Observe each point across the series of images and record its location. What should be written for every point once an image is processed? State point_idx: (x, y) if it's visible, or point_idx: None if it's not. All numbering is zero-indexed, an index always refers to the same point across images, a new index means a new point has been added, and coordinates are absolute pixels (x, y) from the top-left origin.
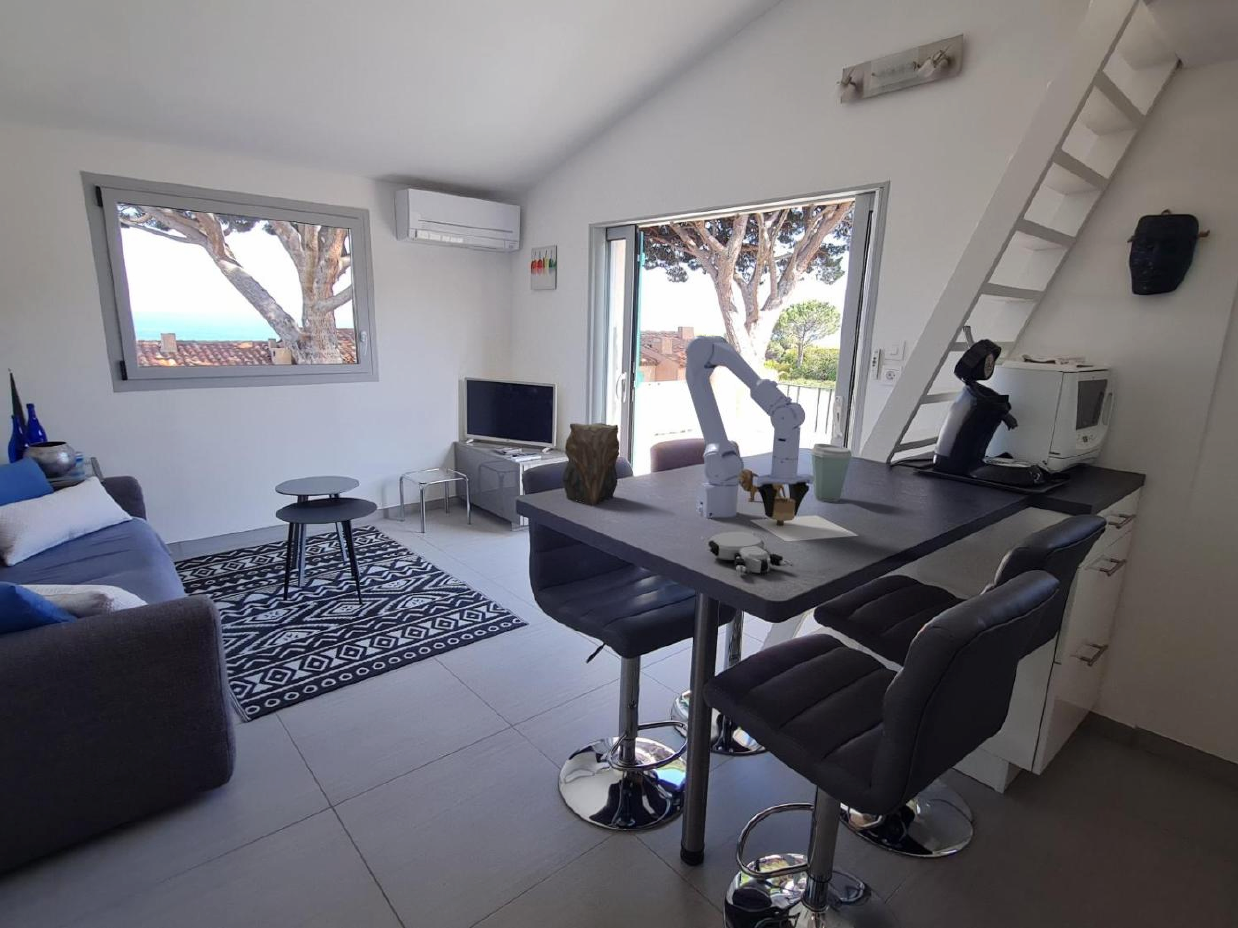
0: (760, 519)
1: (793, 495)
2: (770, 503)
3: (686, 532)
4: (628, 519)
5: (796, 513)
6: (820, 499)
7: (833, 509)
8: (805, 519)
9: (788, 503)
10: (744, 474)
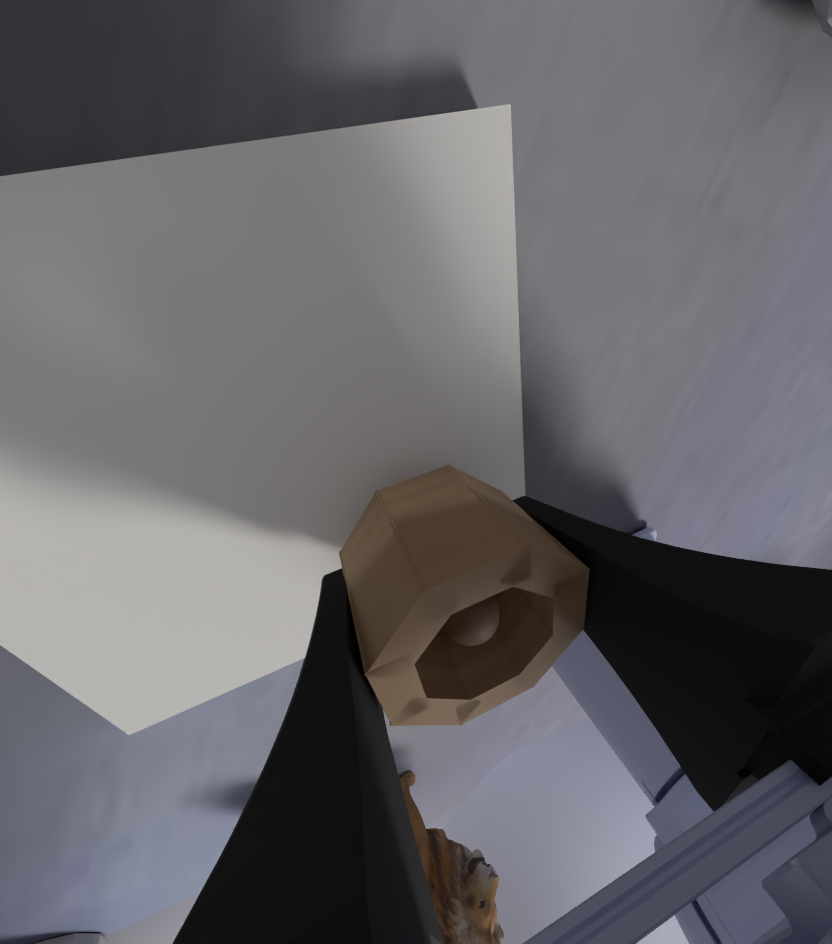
0: None
1: (382, 758)
2: (626, 536)
3: (762, 413)
4: (797, 519)
5: (326, 581)
6: (81, 940)
7: (3, 881)
8: (221, 645)
9: (479, 567)
10: (481, 923)
